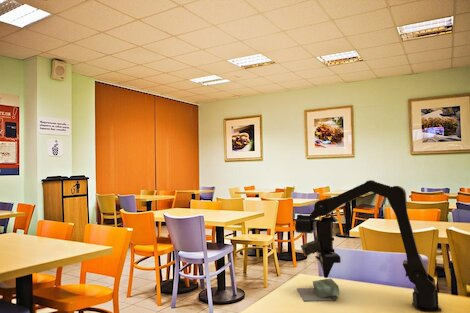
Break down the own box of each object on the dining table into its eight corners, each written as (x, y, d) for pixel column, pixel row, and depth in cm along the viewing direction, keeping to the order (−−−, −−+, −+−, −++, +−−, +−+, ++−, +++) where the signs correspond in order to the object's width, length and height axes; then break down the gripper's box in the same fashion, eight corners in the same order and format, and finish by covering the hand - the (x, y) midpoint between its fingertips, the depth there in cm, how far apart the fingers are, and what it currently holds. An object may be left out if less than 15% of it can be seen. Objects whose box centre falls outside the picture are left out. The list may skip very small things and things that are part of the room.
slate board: (326, 288, 140) (325, 285, 140) (336, 300, 126) (336, 297, 126) (296, 289, 140) (296, 286, 140) (303, 301, 126) (303, 298, 126)
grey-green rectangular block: (330, 278, 139) (312, 281, 138) (338, 285, 129) (318, 289, 128) (332, 286, 138) (314, 289, 138) (339, 294, 128) (320, 298, 128)
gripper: (297, 230, 144) (298, 271, 143) (307, 238, 125) (308, 285, 124) (326, 230, 144) (327, 271, 143) (340, 238, 125) (341, 284, 124)
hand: (325, 277), depth 134 cm, fingers closed
